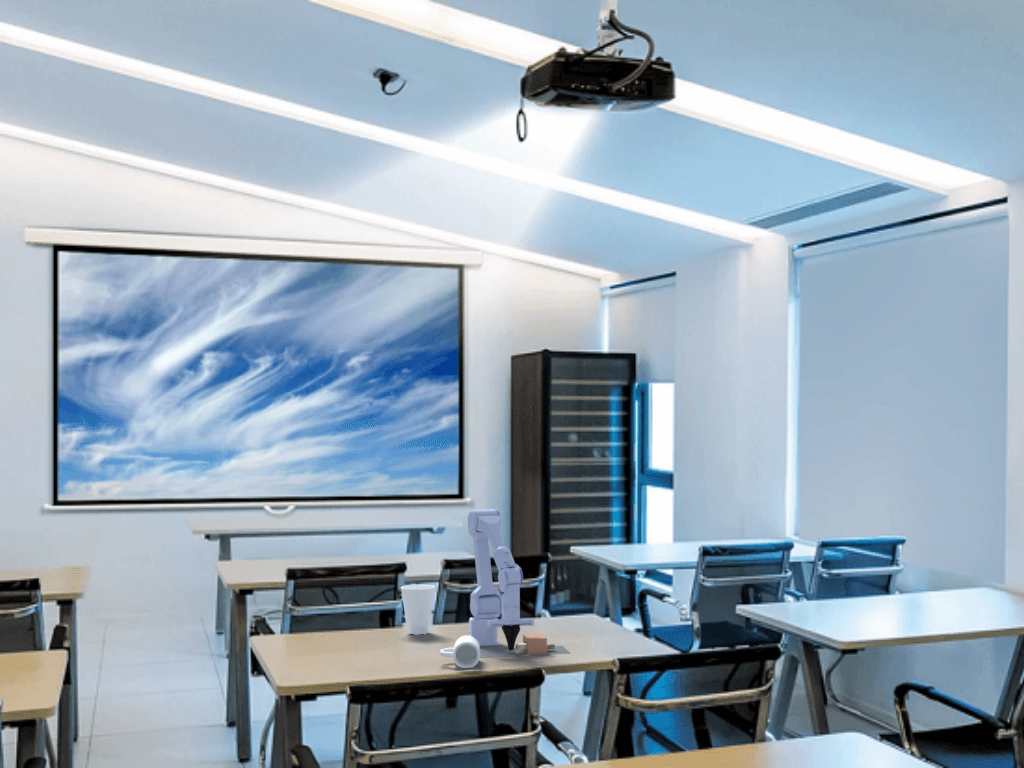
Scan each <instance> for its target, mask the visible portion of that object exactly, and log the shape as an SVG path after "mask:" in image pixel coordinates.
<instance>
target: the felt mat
mask: <svg viewBox="0 0 1024 768" xmlns="http://www.w3.org/2000/svg"><path fill="white" fill-rule="evenodd" d="M565 654H571V651H569V649H567V648H565V646H563V645H555V649H553V650H547V654H532V655H528V654H527V653H516V647H514V650H509V649H508V647H507V648H505V647H504V648H488V649H487V648H486V649H485V648H484V649H480V659H485V658H487V659H488V658H505V657H525V656H527V657H528V656H529V657H530V656H545V655H565Z"/></svg>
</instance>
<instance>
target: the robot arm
mask: <svg viewBox="0 0 1024 768" xmlns="http://www.w3.org/2000/svg"><path fill="white" fill-rule="evenodd" d="M501 525H502V515H501V512H500V510H499V509H498V508H491V509H489V508H488V509H487V508H485V509H471V510H469V513H468V515H467V529H468V534H469V536H470V537H472V540H473V552H474V562H475V570H476V571H475V573H476V581H477V587H476V588H475V589H474V590H473V591H472V592H471V593H470V603H469V610H470V612H471V614H472V616H473V617H469V619H468V636H472V637H474V638H475V639H476V640H477V641H478V643H479V645H480V647H486V646H500V645H501V642H499V639H498V637H499V635H498V634H499V631H498V630H499V629H498V628H501V629H502V632H503V634H504V637H505V639H506V642H507V643H506V645H507V648H508V649H509V650H514V648H515V646H516V642H517V641H516V640H517V638H518V635H519V633H520V631H521V626H522V627H523V626H525V627H526V626H527V627H528V626H531V627H532V626H533V627H534V626H535V619H534V618H520V617H521V616H520V615H521V614H520V613H521V611H520V609H521V603H520V601H521V600H520V599H521V597H520V595H521V593H520V592H521V590H520V585H522V584H523V580H524V574H523V570H522V568H521V566H519V564H517V563H516V562H515V560H514V557H513V555H512V552H511V549H510V548H508V547H506V546H505V541H504V539H503V535H502V531H501ZM489 542H490V544H491V547H492V548H493V550H494V552H493V553H492V558H493V560H494V563H495V566H496V568H497V570H498V575H497V580H498V584H499V589H498V588H497V587H495V586H494V584H493V575H492V564H491V555H490V544H489ZM500 615H501V618H500V619H498V617H500Z"/></svg>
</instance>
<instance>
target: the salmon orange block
mask: <svg viewBox="0 0 1024 768" xmlns="http://www.w3.org/2000/svg"><path fill="white" fill-rule="evenodd" d="M547 640H548V638H547V637H546V636H545V635H544V634H543V633H524V634H522V643H527V654H528V655H530V656H533V655H532V654H547V644H548V641H547Z"/></svg>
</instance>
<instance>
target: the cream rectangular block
mask: <svg viewBox="0 0 1024 768" xmlns="http://www.w3.org/2000/svg"><path fill="white" fill-rule="evenodd" d="M555 646H556V645H555V643H547V650H553V649H555ZM515 648H516V653H527V643H523V642H519V643H517V642H515Z"/></svg>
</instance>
